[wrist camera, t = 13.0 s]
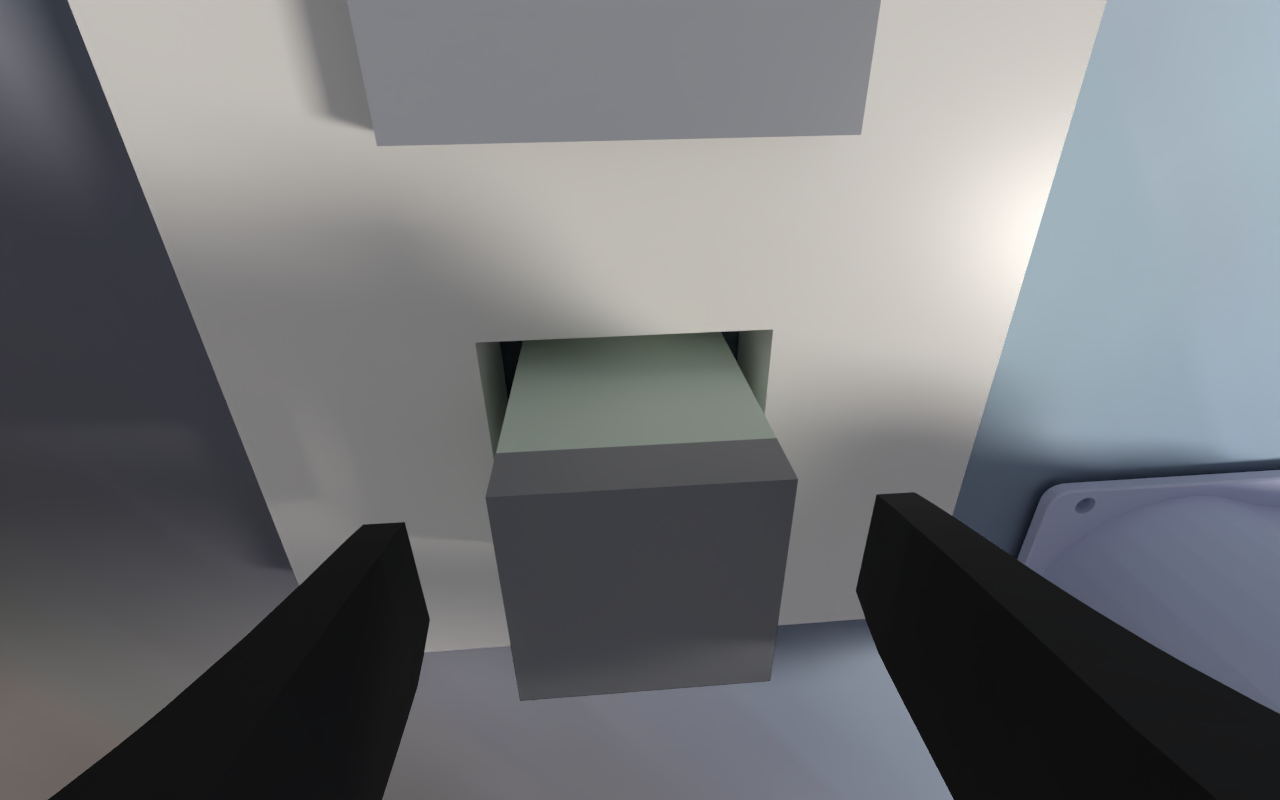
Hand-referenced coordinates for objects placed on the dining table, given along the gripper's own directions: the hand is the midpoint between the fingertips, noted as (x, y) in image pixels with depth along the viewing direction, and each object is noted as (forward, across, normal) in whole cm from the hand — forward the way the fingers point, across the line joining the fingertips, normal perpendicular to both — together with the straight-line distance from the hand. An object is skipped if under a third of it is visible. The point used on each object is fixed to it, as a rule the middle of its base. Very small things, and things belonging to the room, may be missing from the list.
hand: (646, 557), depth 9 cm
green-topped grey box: (+5, 0, 0) cm, 5 cm away
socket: (+5, 0, -3) cm, 6 cm away
